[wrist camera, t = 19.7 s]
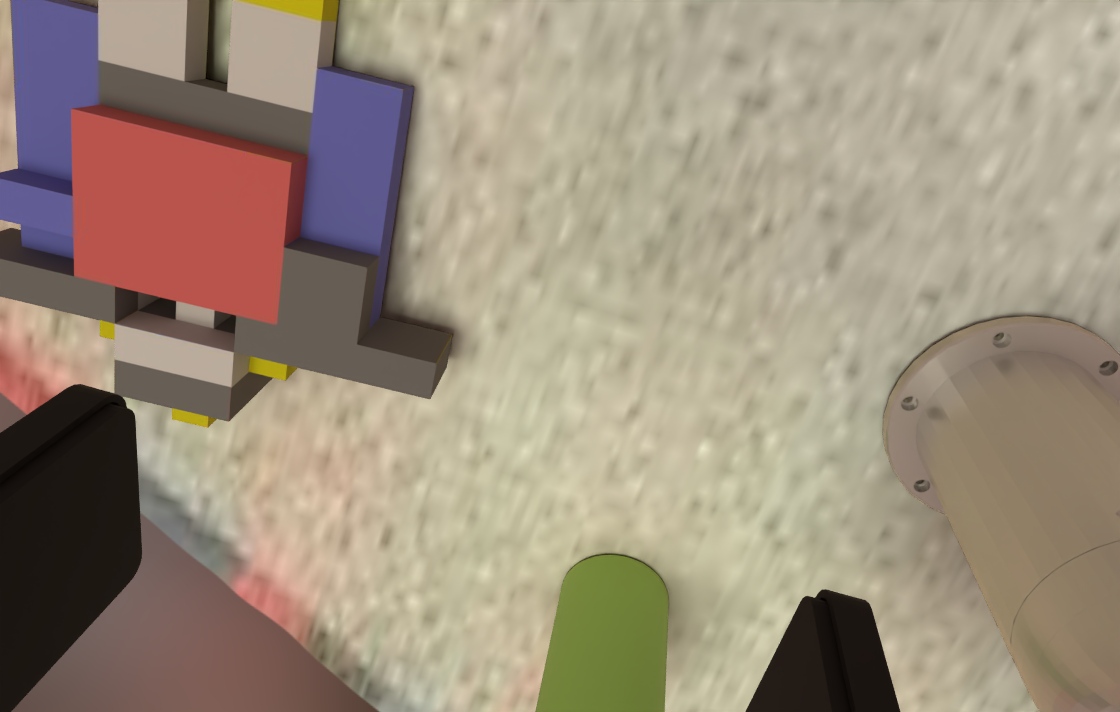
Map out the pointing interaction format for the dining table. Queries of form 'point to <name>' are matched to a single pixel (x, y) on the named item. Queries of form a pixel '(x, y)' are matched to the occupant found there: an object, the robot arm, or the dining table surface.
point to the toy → (209, 199)
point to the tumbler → (608, 640)
